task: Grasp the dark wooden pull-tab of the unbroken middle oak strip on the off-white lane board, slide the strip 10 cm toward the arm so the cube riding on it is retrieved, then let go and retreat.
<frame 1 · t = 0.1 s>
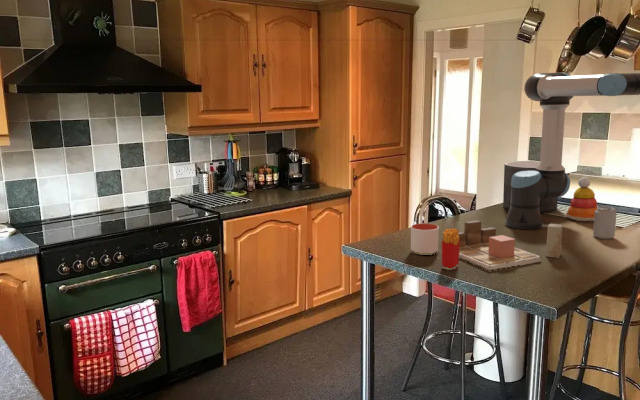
box: (553, 256, 183), on the kitchen island
planter: (529, 208, 258), on the kitchen island
stacking toy: (582, 219, 233), on the kitchen island
can: (603, 237, 204), on the kitchen island
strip: (490, 240, 183), point 6 cm above the kitchen island, slide at 0.0 cm, touching cube
cup: (424, 253, 191), on the kitchen island
french fries: (450, 267, 174), on the kitchen island
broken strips: (491, 256, 184), resting on lane board
lane board: (491, 256, 184), on the kitchen island
cube: (501, 254, 179), point 2 cm above the kitchen island, touching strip
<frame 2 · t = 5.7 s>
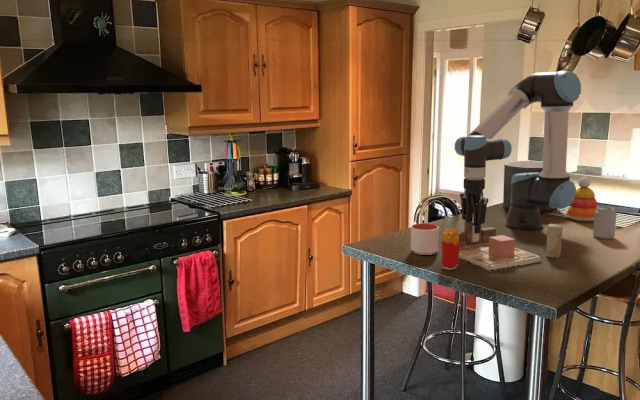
hand: (472, 240, 193), 4 cm above the kitchen island, fingers closed on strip, 2 cm apart
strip: (490, 240, 183), point 6 cm above the kitchen island, slide at 0.0 cm, touching cube, gripper
everything else where it was.
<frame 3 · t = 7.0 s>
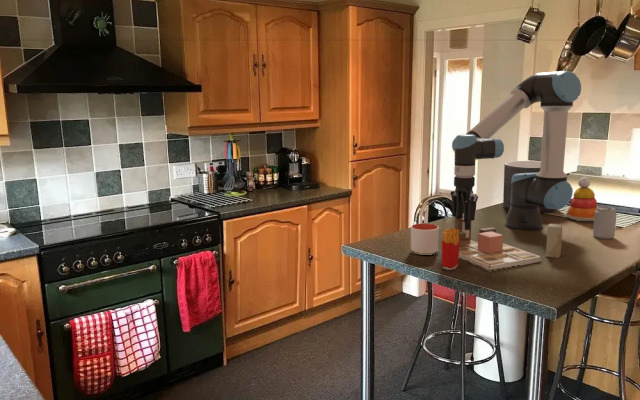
hand: (462, 236, 198), 4 cm above the kitchen island, fingers closed on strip, 2 cm apart
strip: (480, 236, 189), point 6 cm above the kitchen island, slide at 5.7 cm, touching cube, gripper
cube: (489, 250, 184), point 2 cm above the kitchen island, touching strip
everything else where it was.
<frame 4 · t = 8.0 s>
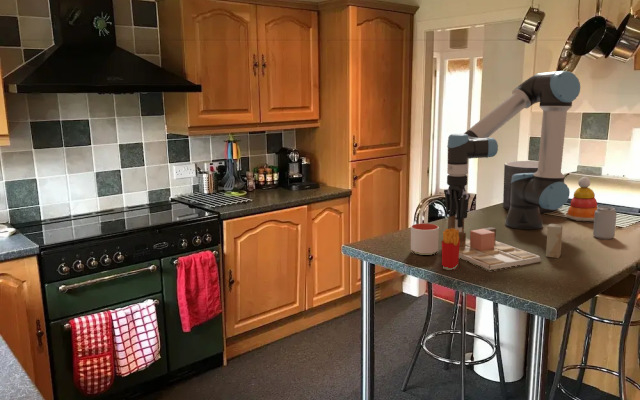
hand: (455, 234, 202), 4 cm above the kitchen island, fingers closed on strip, 2 cm apart
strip: (472, 234, 192), point 6 cm above the kitchen island, slide at 9.9 cm, touching cube, gripper
cube: (481, 247, 188), point 2 cm above the kitchen island, touching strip
everything else where it was.
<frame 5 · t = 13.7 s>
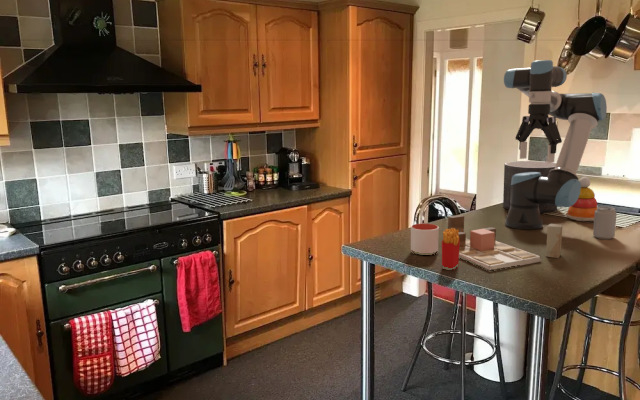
hand: (536, 160, 195), 32 cm above the kitchen island, fingers open, 13 cm apart
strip: (472, 234, 192), point 6 cm above the kitchen island, slide at 10.0 cm, touching cube
everything else where it was.
at the end: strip slide at 10.0 cm; cube inside the target area (0.5 cm from its centre), point 2.1 cm above the kitchen island; cube tilted 0° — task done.
